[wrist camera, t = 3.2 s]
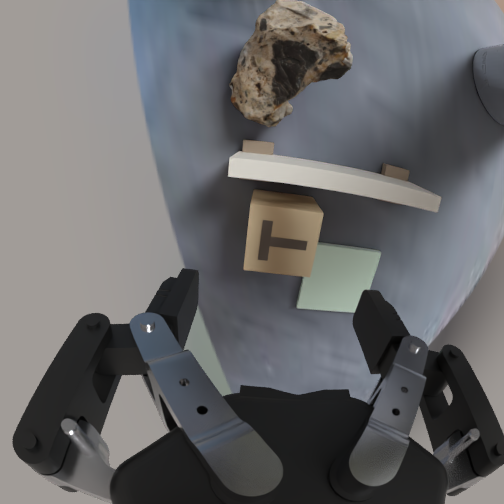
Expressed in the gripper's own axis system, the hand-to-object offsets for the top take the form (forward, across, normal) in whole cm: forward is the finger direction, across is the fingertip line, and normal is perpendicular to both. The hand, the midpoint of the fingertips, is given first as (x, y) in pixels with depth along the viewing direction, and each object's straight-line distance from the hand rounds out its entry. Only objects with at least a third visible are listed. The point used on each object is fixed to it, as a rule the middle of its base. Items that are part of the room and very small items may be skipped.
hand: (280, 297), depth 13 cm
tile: (+12, -7, +5) cm, 15 cm away
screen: (+12, -4, -5) cm, 13 cm away
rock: (+12, +1, -13) cm, 18 cm away
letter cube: (+12, -1, 0) cm, 12 cm away
